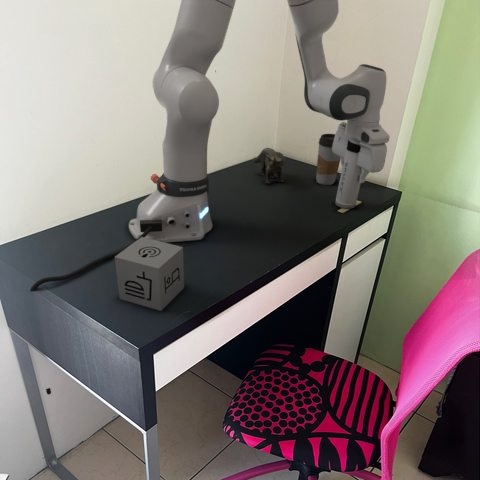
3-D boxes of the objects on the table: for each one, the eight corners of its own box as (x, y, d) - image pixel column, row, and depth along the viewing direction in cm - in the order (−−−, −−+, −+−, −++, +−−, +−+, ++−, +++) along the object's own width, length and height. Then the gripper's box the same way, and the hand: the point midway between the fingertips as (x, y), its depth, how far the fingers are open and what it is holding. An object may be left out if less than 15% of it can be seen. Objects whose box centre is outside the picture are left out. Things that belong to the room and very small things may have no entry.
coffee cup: (309, 178, 167) (315, 133, 158) (330, 176, 169) (338, 132, 160) (319, 187, 161) (326, 141, 152) (341, 185, 163) (349, 140, 154)
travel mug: (354, 202, 151) (369, 136, 140) (356, 210, 146) (372, 142, 134) (334, 199, 151) (347, 134, 140) (335, 207, 146) (349, 140, 134)
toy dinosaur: (251, 168, 173) (253, 135, 166) (273, 167, 174) (276, 135, 168) (264, 190, 155) (267, 155, 149) (289, 190, 157) (293, 155, 150)
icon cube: (161, 311, 98) (158, 268, 93) (119, 298, 101) (114, 256, 96) (184, 287, 106) (183, 247, 100) (145, 277, 109) (141, 236, 103)
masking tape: (342, 213, 144) (342, 212, 144) (337, 211, 145) (337, 210, 145) (362, 202, 152) (362, 201, 151) (356, 200, 153) (356, 200, 152)
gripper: (331, 121, 142) (324, 167, 150) (375, 140, 127) (365, 190, 135) (348, 119, 144) (340, 165, 152) (394, 138, 130) (383, 187, 138)
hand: (352, 177), depth 144 cm, fingers open, 6 cm apart
